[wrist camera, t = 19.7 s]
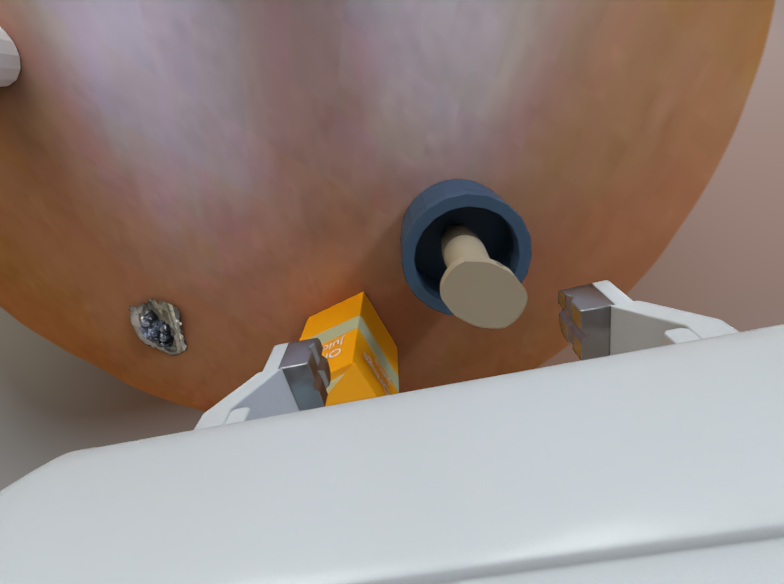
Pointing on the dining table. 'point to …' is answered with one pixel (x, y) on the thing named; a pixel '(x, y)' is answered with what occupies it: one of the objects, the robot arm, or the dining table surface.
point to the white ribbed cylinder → (8, 60)
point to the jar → (458, 206)
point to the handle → (478, 282)
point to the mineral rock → (158, 326)
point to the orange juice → (355, 351)
